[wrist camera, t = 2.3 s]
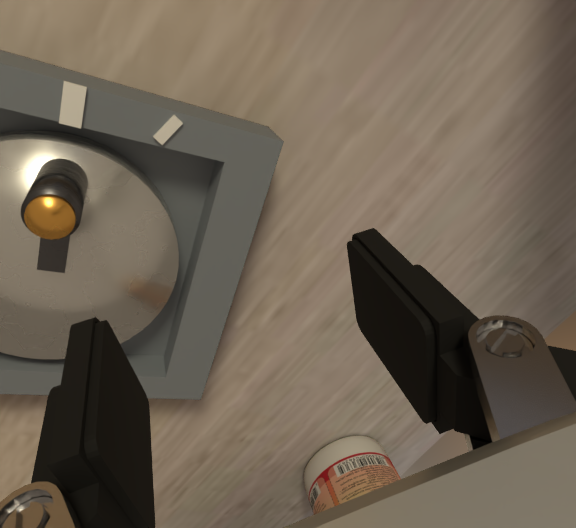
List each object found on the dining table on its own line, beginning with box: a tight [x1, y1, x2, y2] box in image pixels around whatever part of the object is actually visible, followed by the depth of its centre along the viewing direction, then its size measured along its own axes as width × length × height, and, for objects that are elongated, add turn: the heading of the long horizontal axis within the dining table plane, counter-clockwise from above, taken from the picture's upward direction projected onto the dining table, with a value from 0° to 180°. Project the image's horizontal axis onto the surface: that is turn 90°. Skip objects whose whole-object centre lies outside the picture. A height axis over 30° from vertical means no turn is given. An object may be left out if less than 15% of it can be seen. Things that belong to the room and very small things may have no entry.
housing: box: [0, 50, 284, 400], centre depth 28 cm, size 22×20×4 cm
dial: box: [0, 130, 179, 359], centre depth 25 cm, size 14×14×7 cm
